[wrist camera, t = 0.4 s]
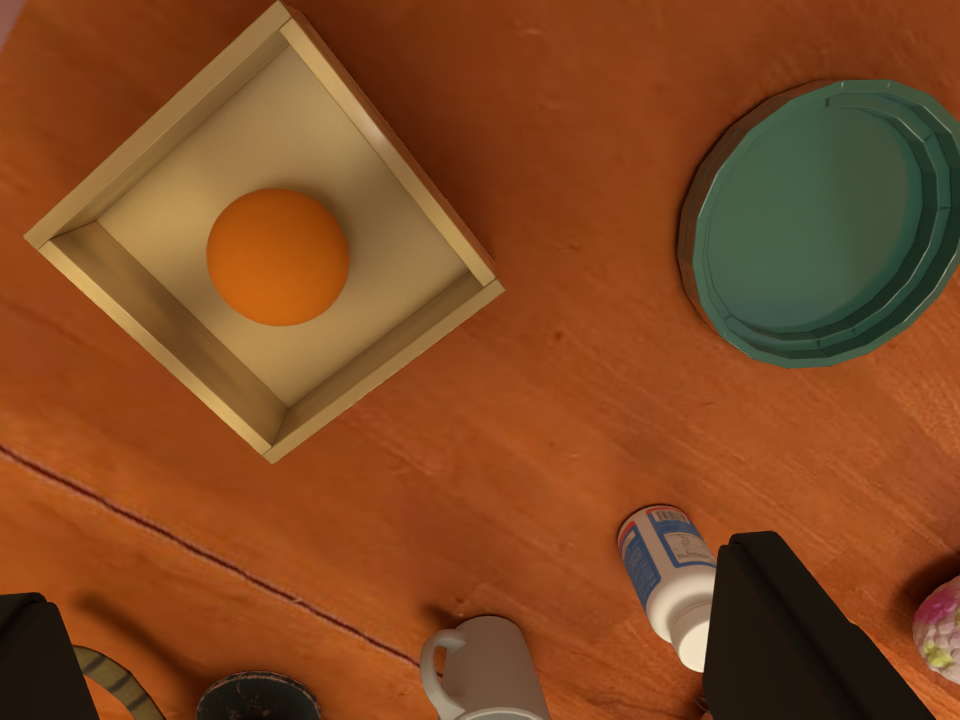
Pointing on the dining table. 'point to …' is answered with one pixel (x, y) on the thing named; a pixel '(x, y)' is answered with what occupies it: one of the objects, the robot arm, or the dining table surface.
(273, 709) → the teapot
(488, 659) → the cup
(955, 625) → the decorative item
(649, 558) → the pill bottle
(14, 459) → the dining table surface
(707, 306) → the dish
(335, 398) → the wooden tray
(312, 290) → the orange
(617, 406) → the dining table surface
